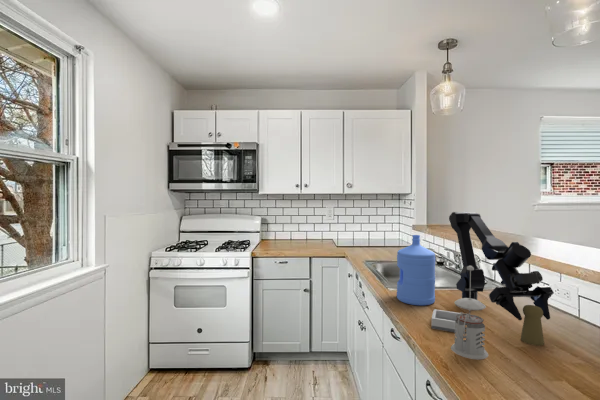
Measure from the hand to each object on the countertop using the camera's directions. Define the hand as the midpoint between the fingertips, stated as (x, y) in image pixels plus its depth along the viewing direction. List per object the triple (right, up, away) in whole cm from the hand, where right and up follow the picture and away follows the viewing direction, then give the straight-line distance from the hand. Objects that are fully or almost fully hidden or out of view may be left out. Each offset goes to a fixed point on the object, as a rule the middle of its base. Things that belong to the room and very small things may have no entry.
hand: (534, 319), depth 101 cm
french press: (-24, -7, -6) cm, 26 cm away
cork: (0, -7, +1) cm, 7 cm away
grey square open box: (-21, -7, +13) cm, 26 cm away
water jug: (-23, -7, +40) cm, 47 cm away
